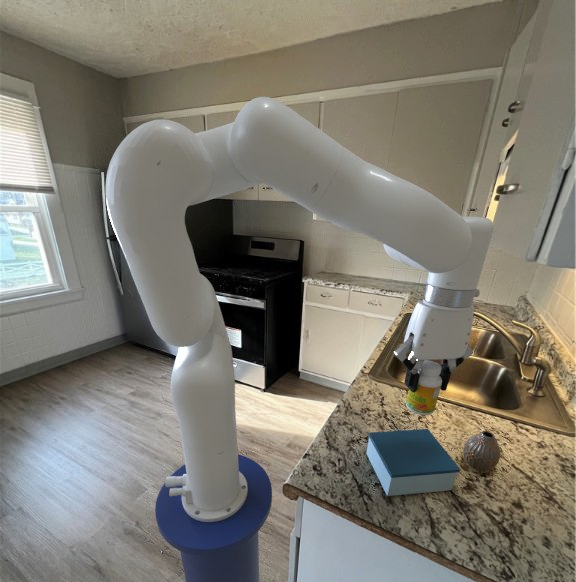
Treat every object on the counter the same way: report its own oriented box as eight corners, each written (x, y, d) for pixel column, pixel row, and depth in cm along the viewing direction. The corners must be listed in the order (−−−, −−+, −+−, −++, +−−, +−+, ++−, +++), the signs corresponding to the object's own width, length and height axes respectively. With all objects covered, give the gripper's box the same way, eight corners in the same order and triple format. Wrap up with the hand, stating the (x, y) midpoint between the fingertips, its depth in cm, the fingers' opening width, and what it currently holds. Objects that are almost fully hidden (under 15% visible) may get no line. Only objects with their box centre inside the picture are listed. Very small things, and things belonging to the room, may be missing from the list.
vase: (474, 450, 75) (484, 421, 71) (501, 471, 69) (514, 440, 66) (453, 458, 73) (463, 428, 69) (479, 480, 67) (492, 448, 63)
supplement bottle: (400, 406, 63) (409, 363, 59) (414, 397, 66) (423, 355, 62) (425, 419, 59) (437, 374, 55) (439, 409, 62) (451, 366, 58)
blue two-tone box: (386, 497, 62) (391, 475, 60) (365, 452, 74) (368, 432, 71) (453, 490, 64) (460, 469, 62) (422, 448, 75) (427, 428, 73)
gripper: (479, 290, 57) (453, 376, 65) (390, 290, 55) (375, 379, 63) (510, 302, 51) (478, 396, 58) (411, 303, 48) (391, 401, 56)
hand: (425, 386), depth 60 cm, fingers closed on supplement bottle, 5 cm apart
